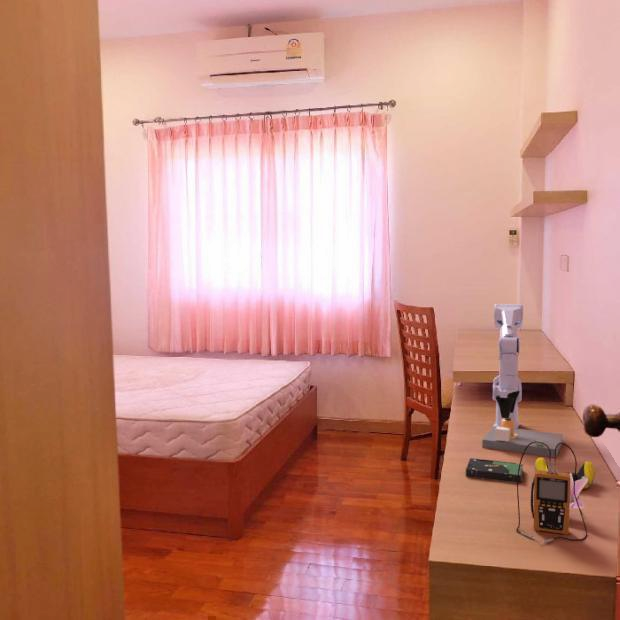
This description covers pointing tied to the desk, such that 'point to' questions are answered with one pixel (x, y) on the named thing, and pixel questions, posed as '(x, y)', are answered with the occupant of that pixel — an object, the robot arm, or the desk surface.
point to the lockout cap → (508, 425)
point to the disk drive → (494, 470)
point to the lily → (576, 492)
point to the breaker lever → (502, 434)
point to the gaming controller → (584, 472)
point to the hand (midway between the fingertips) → (507, 415)
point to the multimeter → (550, 500)
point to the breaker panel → (526, 442)
